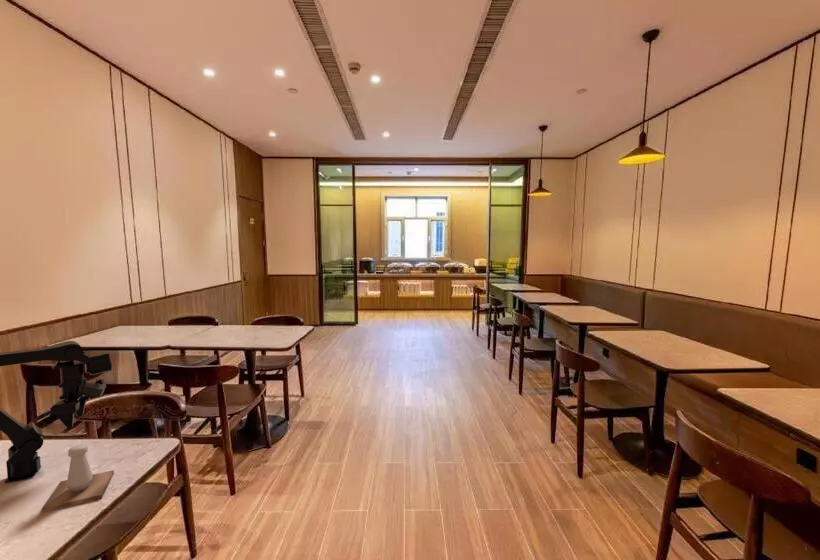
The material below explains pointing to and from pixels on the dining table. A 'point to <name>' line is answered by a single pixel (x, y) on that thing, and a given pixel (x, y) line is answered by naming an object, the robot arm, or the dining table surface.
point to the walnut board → (67, 497)
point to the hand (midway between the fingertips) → (75, 422)
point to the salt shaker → (78, 469)
